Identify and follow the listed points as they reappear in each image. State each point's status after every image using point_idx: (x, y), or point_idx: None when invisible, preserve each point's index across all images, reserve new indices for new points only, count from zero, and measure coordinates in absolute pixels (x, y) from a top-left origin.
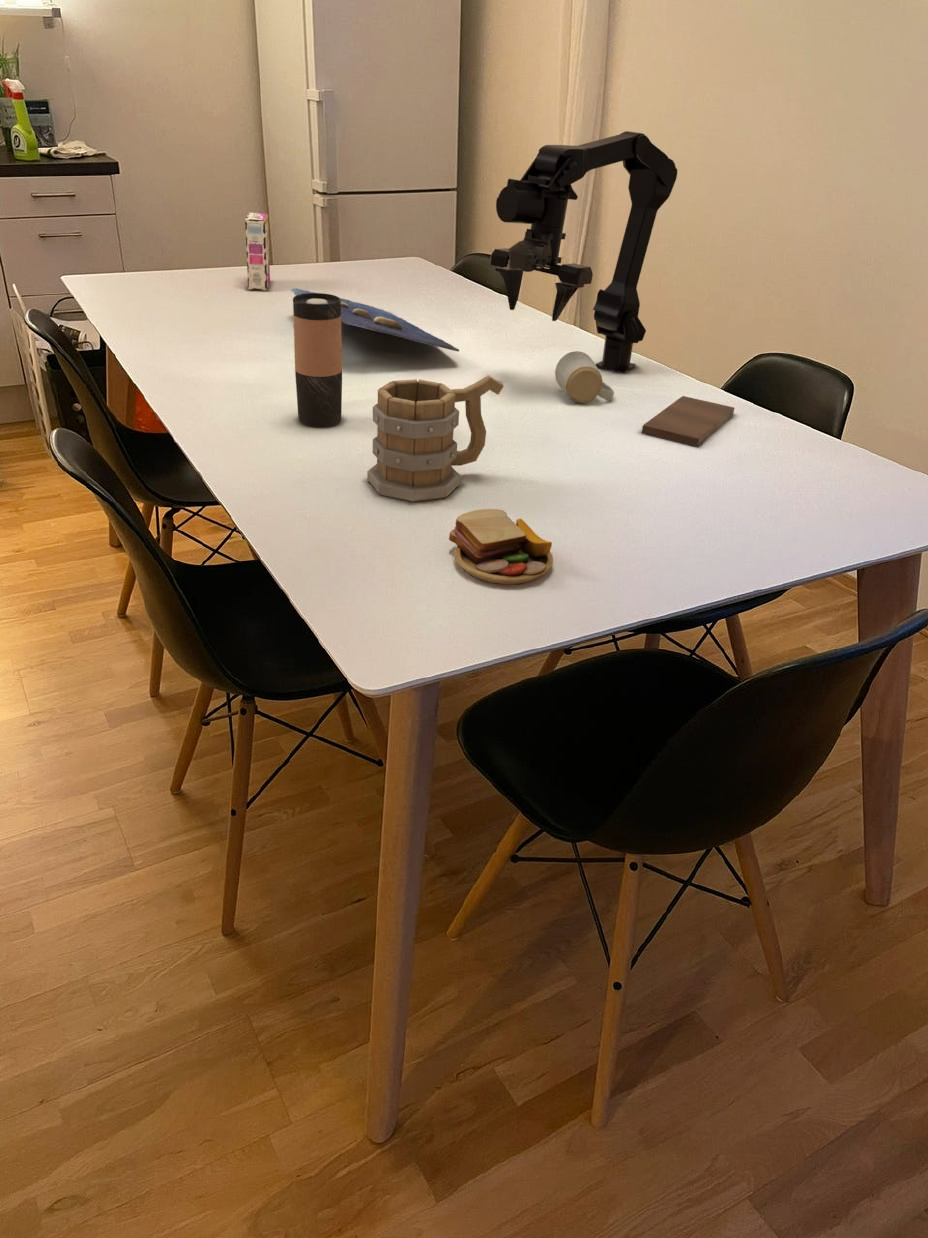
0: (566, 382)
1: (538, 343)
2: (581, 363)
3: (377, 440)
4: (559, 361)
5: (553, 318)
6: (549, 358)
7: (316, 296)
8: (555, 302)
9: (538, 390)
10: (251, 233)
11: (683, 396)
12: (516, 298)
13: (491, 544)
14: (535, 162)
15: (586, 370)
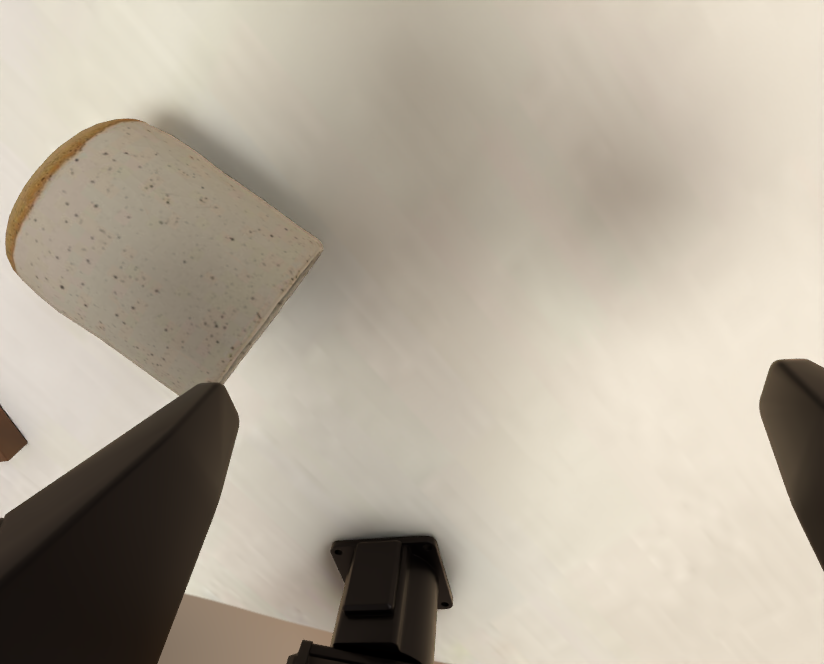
0: (118, 123)
1: (741, 607)
2: (56, 244)
3: None
4: (276, 275)
5: (193, 392)
6: (615, 516)
7: None
8: (58, 522)
9: (388, 171)
10: None
11: (1, 457)
12: (820, 529)
13: None
14: None
15: (11, 212)
